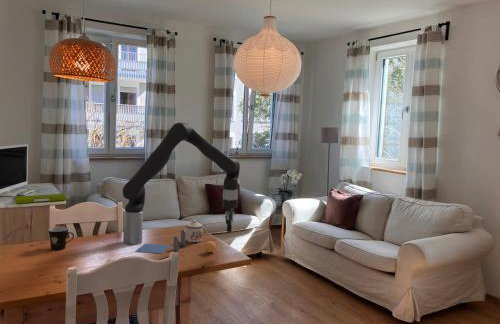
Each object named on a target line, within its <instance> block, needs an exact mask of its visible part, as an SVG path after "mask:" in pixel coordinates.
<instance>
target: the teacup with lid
mask: <svg viewBox="0 0 500 324" xmlns="http://www.w3.org/2000/svg"><path fill="white" fill-rule="evenodd" d="M203 229H204V231H203ZM206 233H207V228H206V227H205V226H204V225H203V224H202V223H200V222H198V221H197V220H195V219H194V220H192V221H191V222H190V223H187V224H186V237H185V241H186V242H187V241H188V242H187V243H190V242H198V243H200V242H199V241H201V240H202V241H203V236H204V235H206ZM202 241H201V242H202Z"/></svg>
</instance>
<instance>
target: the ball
mask: <svg viewBox="0 0 500 324" xmlns="http://www.w3.org/2000/svg"><path fill="white" fill-rule="evenodd" d="M203 247H204V251H205V253H207V252H209V253H208V254H211V253H210V252H213V253H214V252H215V251H216V250H217V245H216V243H215V242H214V241H211V240H210V241H209V240H208V241H207V242H205V243H204V246H203Z"/></svg>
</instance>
